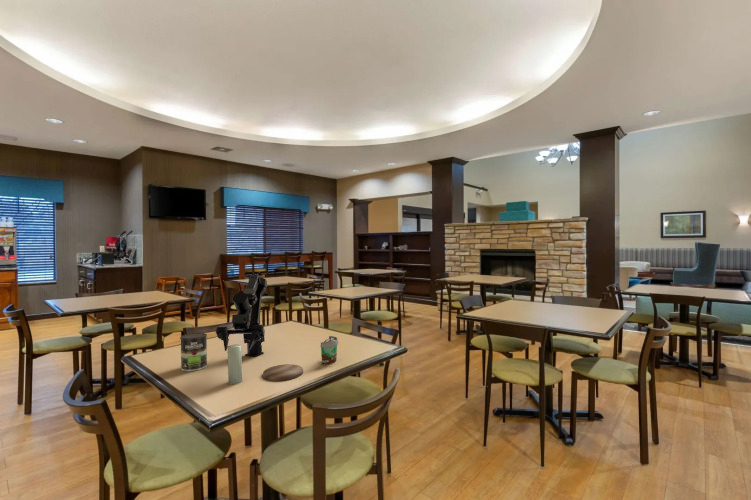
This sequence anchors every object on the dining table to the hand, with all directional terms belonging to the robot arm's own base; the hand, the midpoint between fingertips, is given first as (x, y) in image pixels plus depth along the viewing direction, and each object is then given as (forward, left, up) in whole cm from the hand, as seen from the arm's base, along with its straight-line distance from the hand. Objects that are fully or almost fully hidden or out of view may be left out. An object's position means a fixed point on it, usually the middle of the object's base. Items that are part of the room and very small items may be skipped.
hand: (237, 350), depth 144 cm
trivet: (+13, +11, -11) cm, 21 cm away
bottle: (+2, -4, -11) cm, 12 cm away
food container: (+22, +33, -11) cm, 42 cm away
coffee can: (-28, 0, -11) cm, 30 cm away
